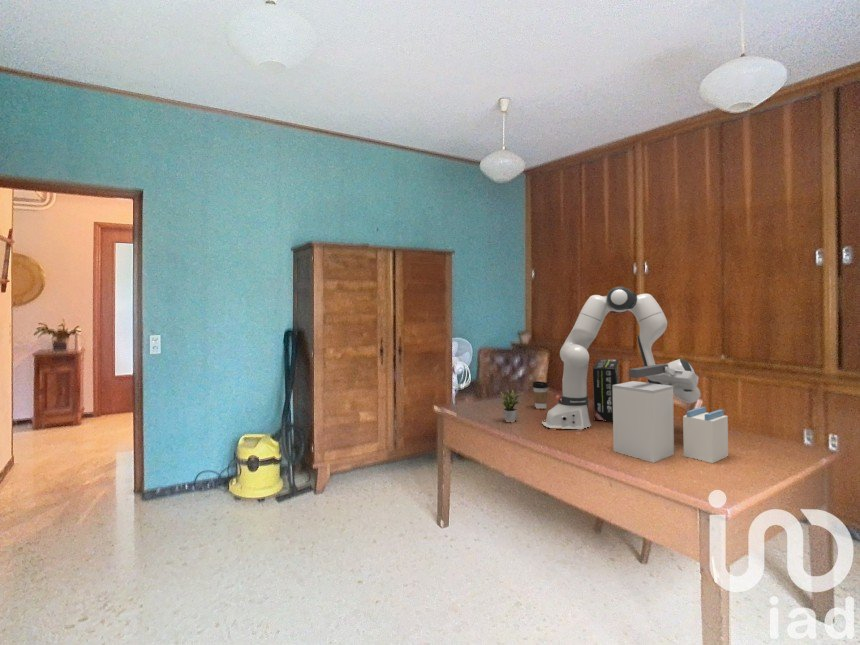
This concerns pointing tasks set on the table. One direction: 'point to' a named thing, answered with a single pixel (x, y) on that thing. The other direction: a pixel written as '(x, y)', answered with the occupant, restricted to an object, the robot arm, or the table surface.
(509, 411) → the house plant
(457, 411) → the table surface
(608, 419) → the router box
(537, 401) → the coffee cup
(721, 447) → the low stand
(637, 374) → the dark grey bar
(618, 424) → the tall stand
